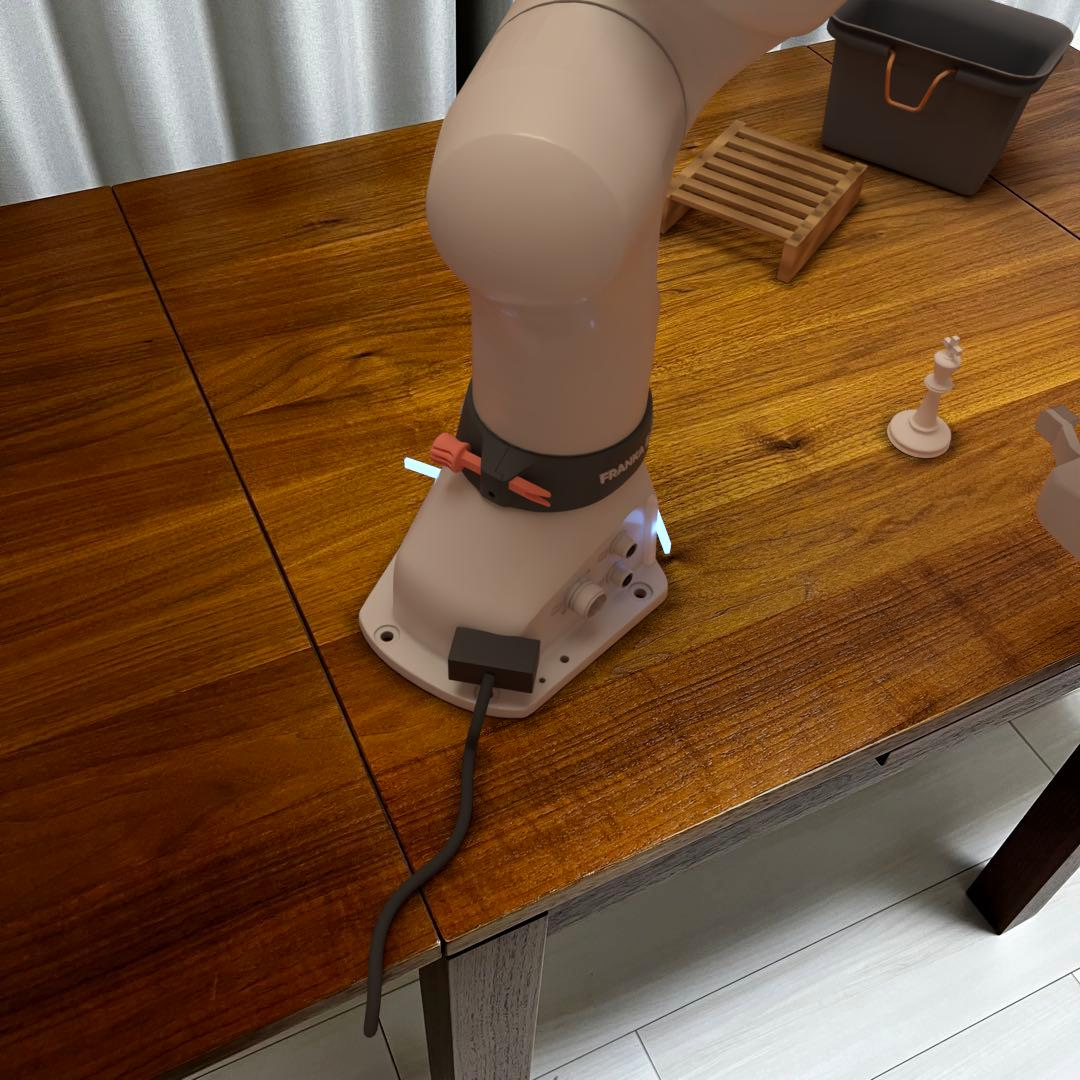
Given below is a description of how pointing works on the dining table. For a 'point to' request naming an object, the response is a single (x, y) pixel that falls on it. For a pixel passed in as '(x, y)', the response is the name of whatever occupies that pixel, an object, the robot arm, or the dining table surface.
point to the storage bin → (935, 83)
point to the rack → (722, 161)
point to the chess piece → (928, 410)
